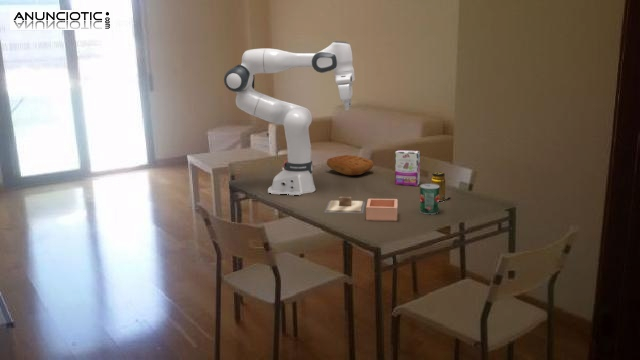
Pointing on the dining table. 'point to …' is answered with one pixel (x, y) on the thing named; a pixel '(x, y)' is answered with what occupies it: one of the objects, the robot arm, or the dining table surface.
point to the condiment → (439, 183)
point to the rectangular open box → (381, 210)
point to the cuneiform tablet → (350, 164)
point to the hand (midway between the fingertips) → (348, 108)
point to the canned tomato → (429, 198)
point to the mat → (345, 212)
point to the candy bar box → (407, 168)
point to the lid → (345, 205)
